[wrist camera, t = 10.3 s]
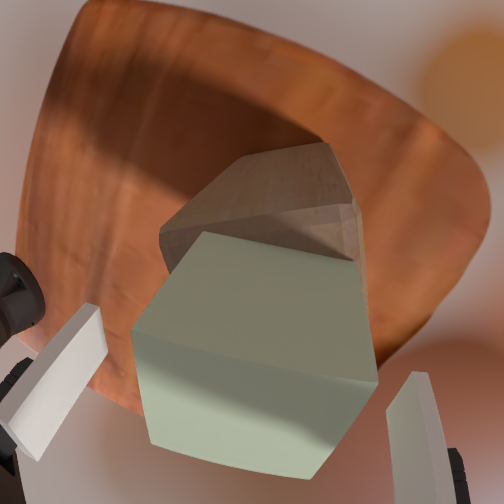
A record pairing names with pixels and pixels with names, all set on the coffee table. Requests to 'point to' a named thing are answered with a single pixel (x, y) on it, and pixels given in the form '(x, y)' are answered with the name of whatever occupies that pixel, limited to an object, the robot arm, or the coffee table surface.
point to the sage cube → (255, 356)
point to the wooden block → (276, 207)
